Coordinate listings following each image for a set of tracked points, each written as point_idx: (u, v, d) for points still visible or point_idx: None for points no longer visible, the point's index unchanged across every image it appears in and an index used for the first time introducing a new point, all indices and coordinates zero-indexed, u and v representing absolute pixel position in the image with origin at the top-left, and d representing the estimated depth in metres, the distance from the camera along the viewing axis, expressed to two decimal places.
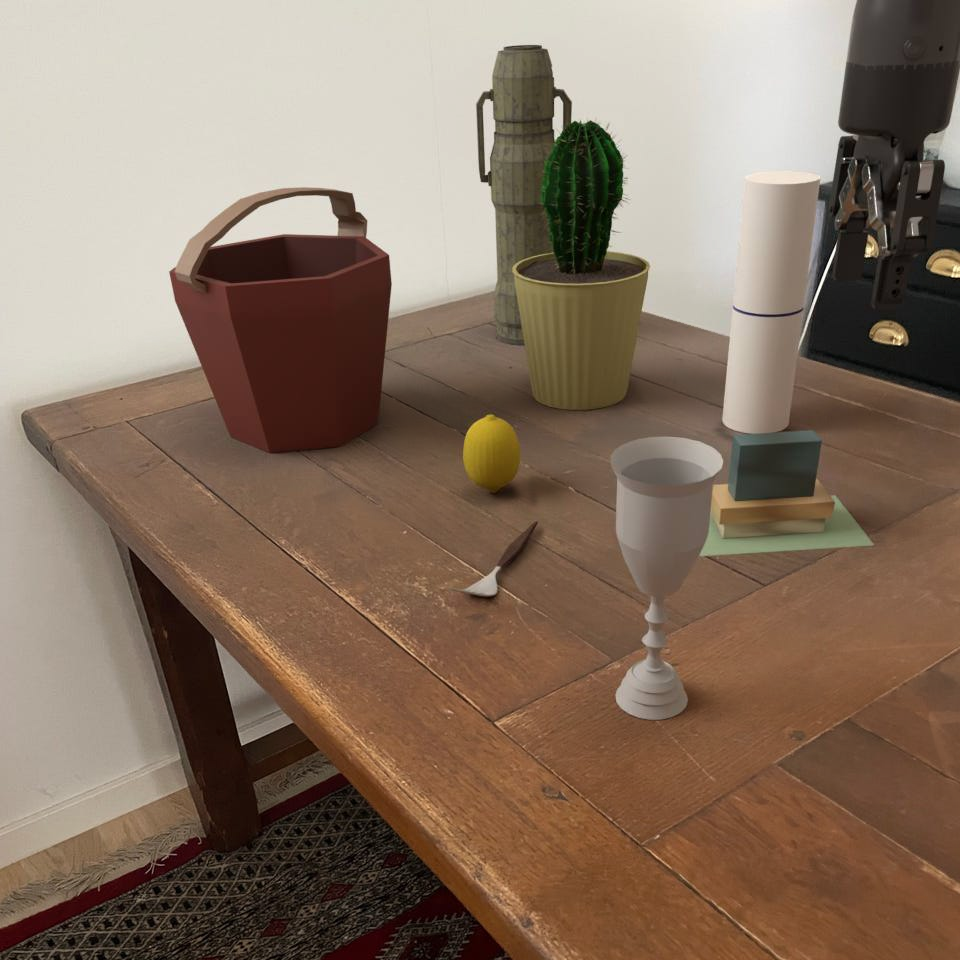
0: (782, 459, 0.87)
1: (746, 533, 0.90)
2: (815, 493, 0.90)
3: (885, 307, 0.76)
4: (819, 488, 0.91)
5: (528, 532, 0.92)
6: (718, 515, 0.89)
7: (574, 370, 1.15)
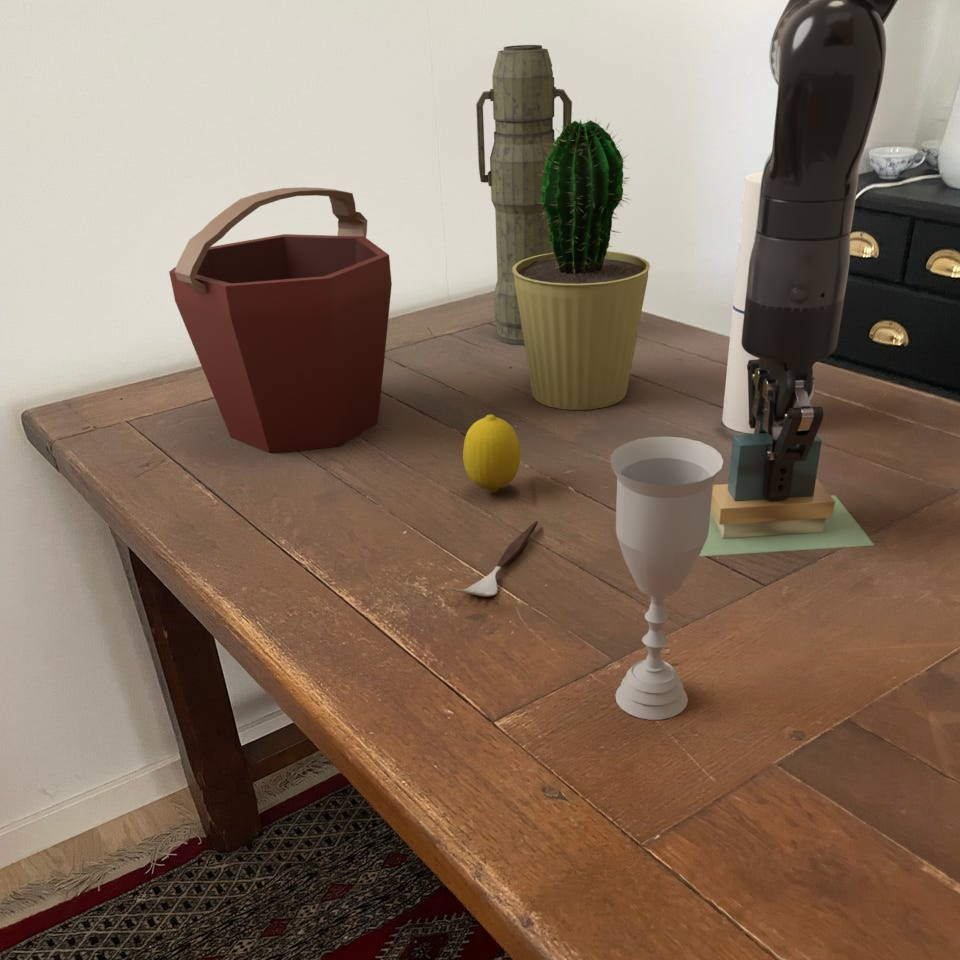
0: None
1: (746, 533, 0.90)
2: (815, 493, 0.90)
3: (773, 497, 0.89)
4: (819, 487, 0.91)
5: (528, 532, 0.92)
6: (718, 515, 0.89)
7: (574, 370, 1.15)
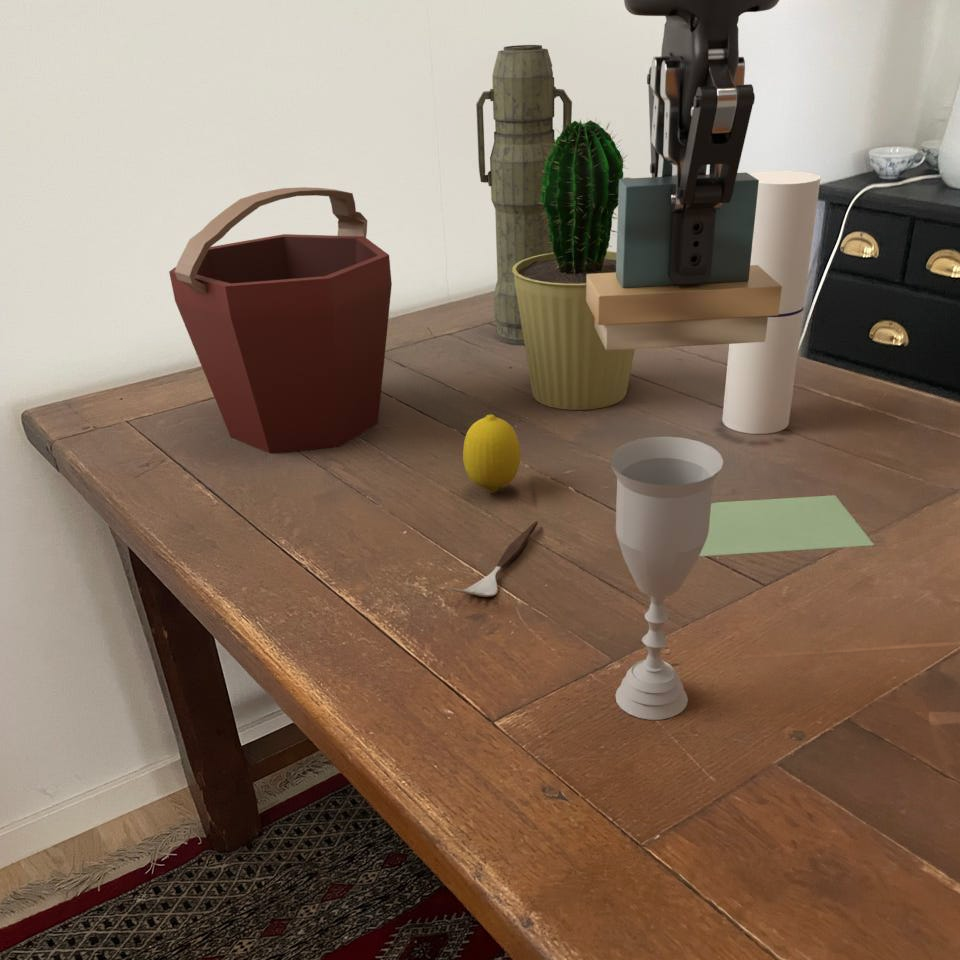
0: None
1: (642, 341, 0.57)
2: (752, 278, 0.57)
3: (685, 280, 0.55)
4: (759, 273, 0.58)
5: (528, 532, 0.92)
6: (597, 310, 0.56)
7: (574, 370, 1.15)
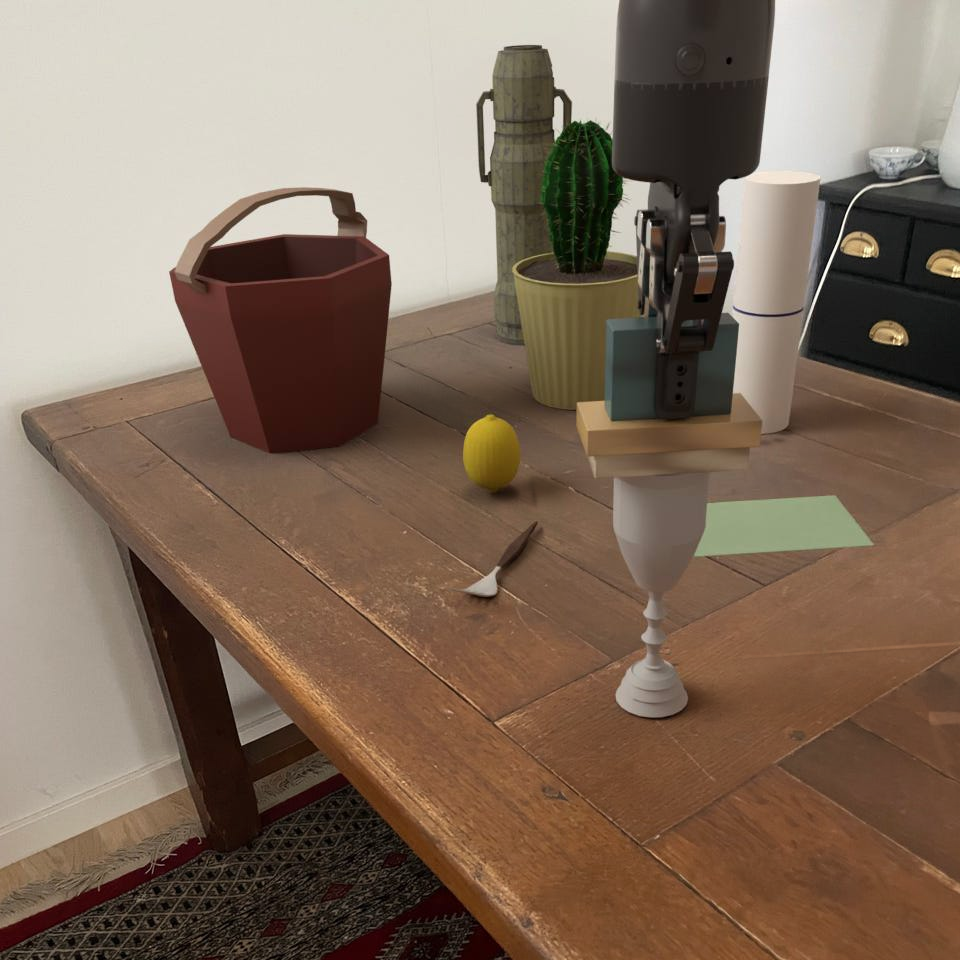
0: None
1: (629, 470, 0.59)
2: (734, 410, 0.59)
3: (670, 415, 0.58)
4: (742, 404, 0.60)
5: (528, 532, 0.92)
6: (586, 442, 0.59)
7: (574, 370, 1.15)
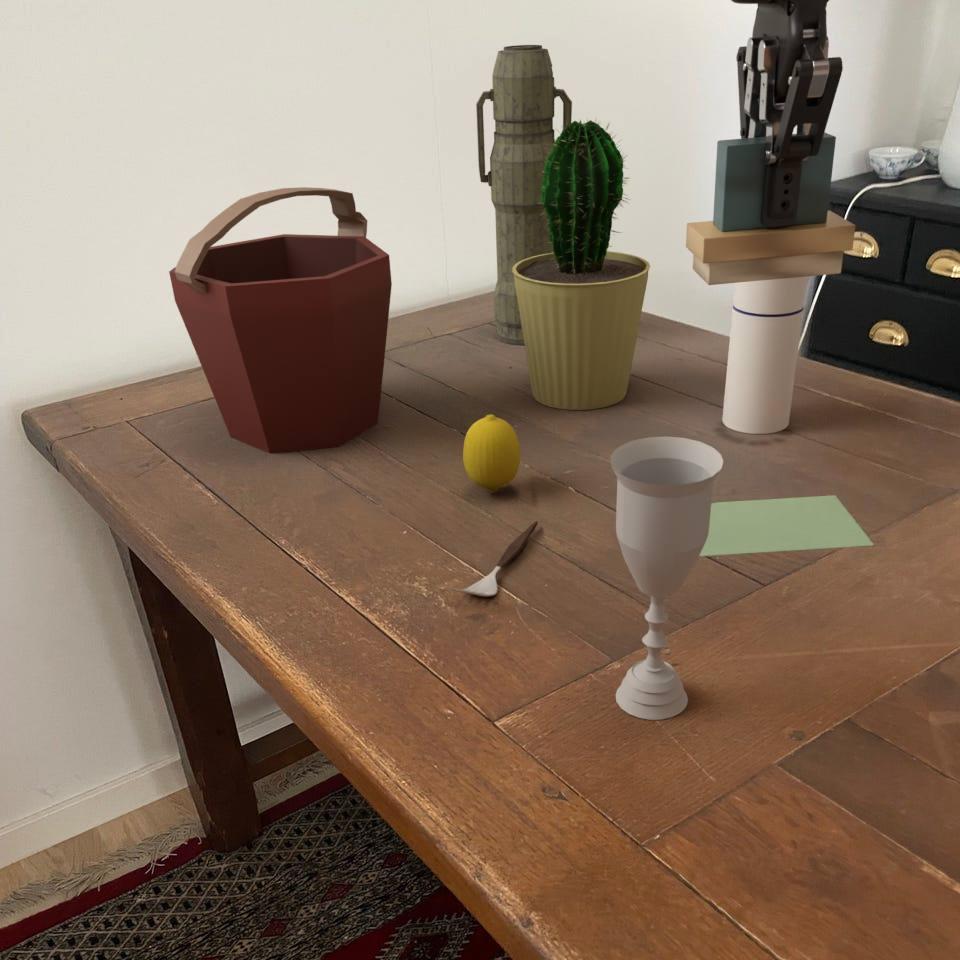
0: None
1: (738, 276, 0.68)
2: (828, 220, 0.68)
3: (775, 223, 0.67)
4: (833, 216, 0.69)
5: (528, 532, 0.92)
6: (701, 251, 0.67)
7: (574, 370, 1.15)
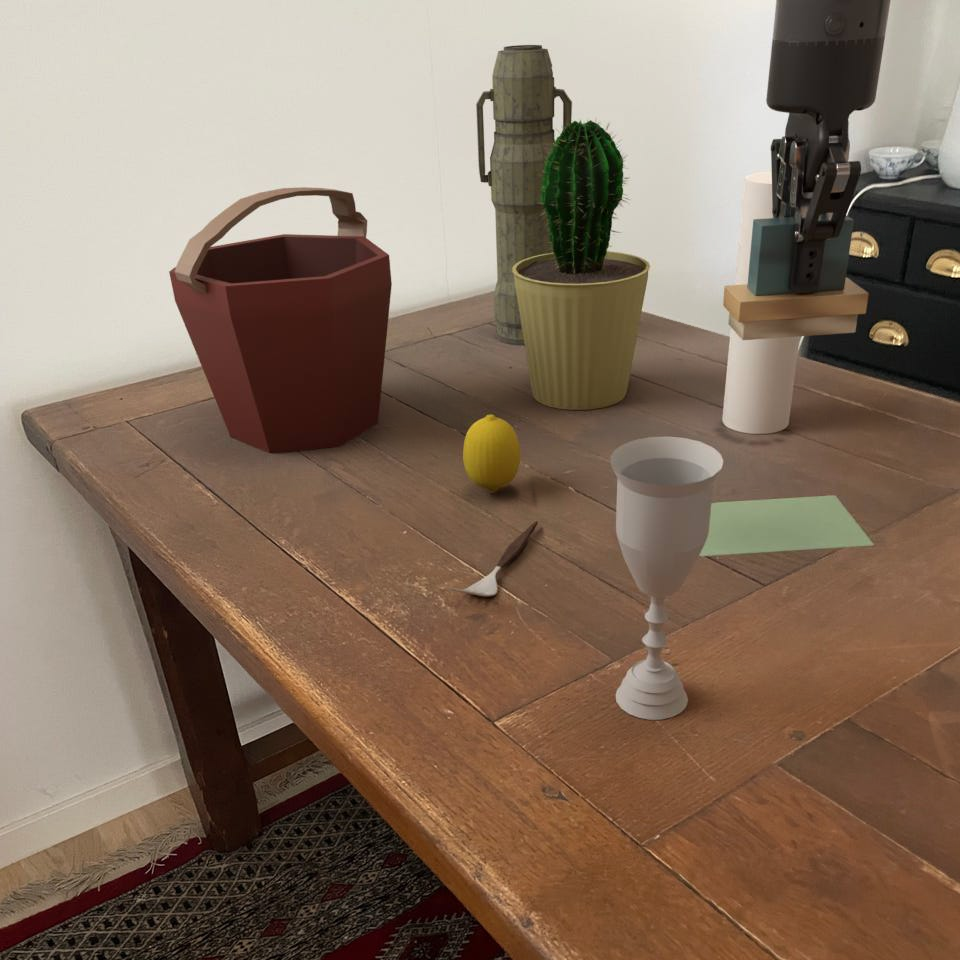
0: None
1: (768, 333, 0.80)
2: (846, 288, 0.80)
3: (801, 290, 0.79)
4: (850, 284, 0.81)
5: (528, 532, 0.92)
6: (737, 312, 0.80)
7: (574, 370, 1.15)
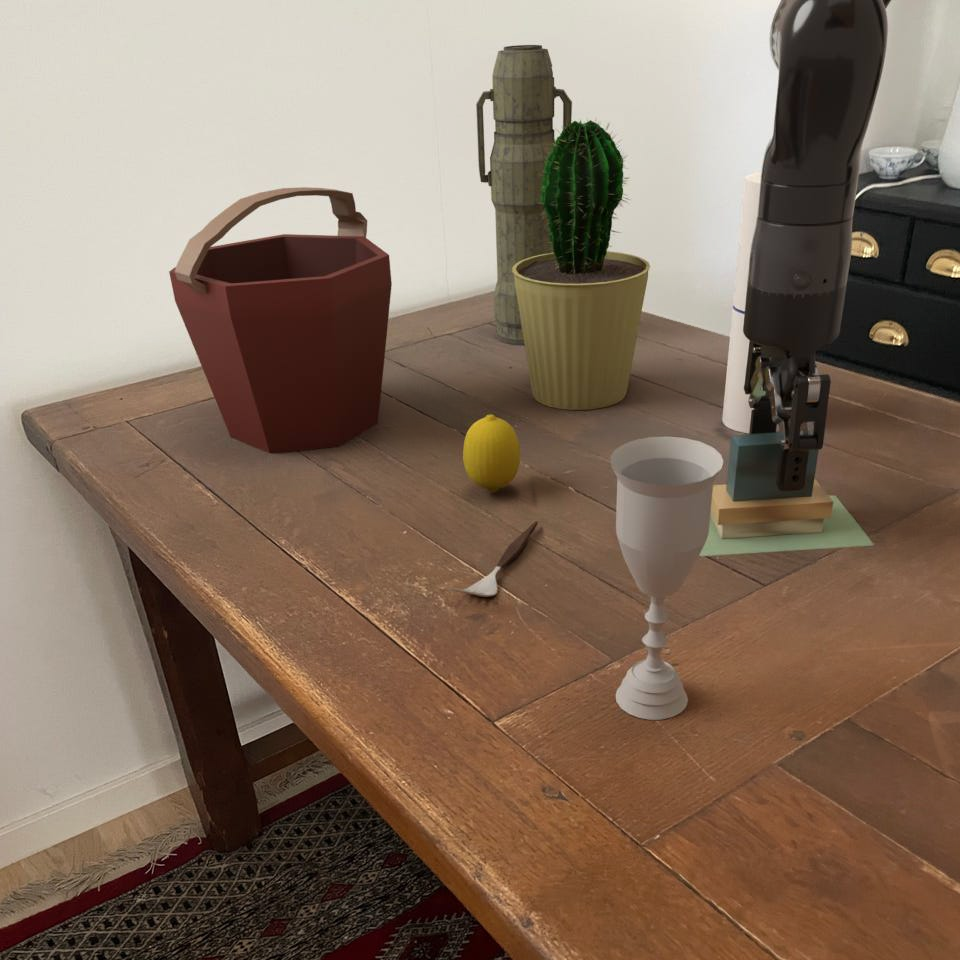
0: None
1: (744, 533, 0.90)
2: (813, 493, 0.90)
3: (788, 488, 0.85)
4: (818, 488, 0.91)
5: (528, 532, 0.92)
6: (716, 515, 0.89)
7: (574, 370, 1.15)
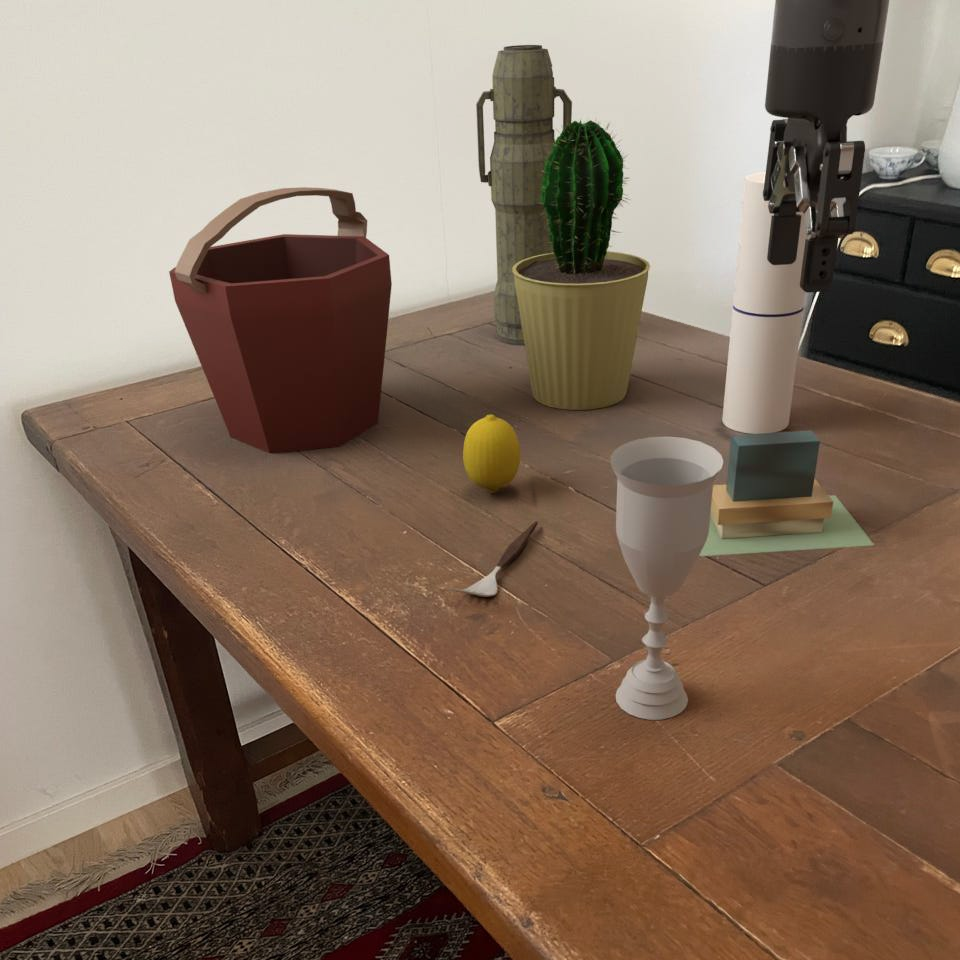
0: (780, 459, 0.87)
1: (744, 533, 0.90)
2: (813, 493, 0.90)
3: (813, 289, 0.76)
4: (818, 488, 0.91)
5: (528, 532, 0.92)
6: (716, 515, 0.89)
7: (574, 370, 1.15)
